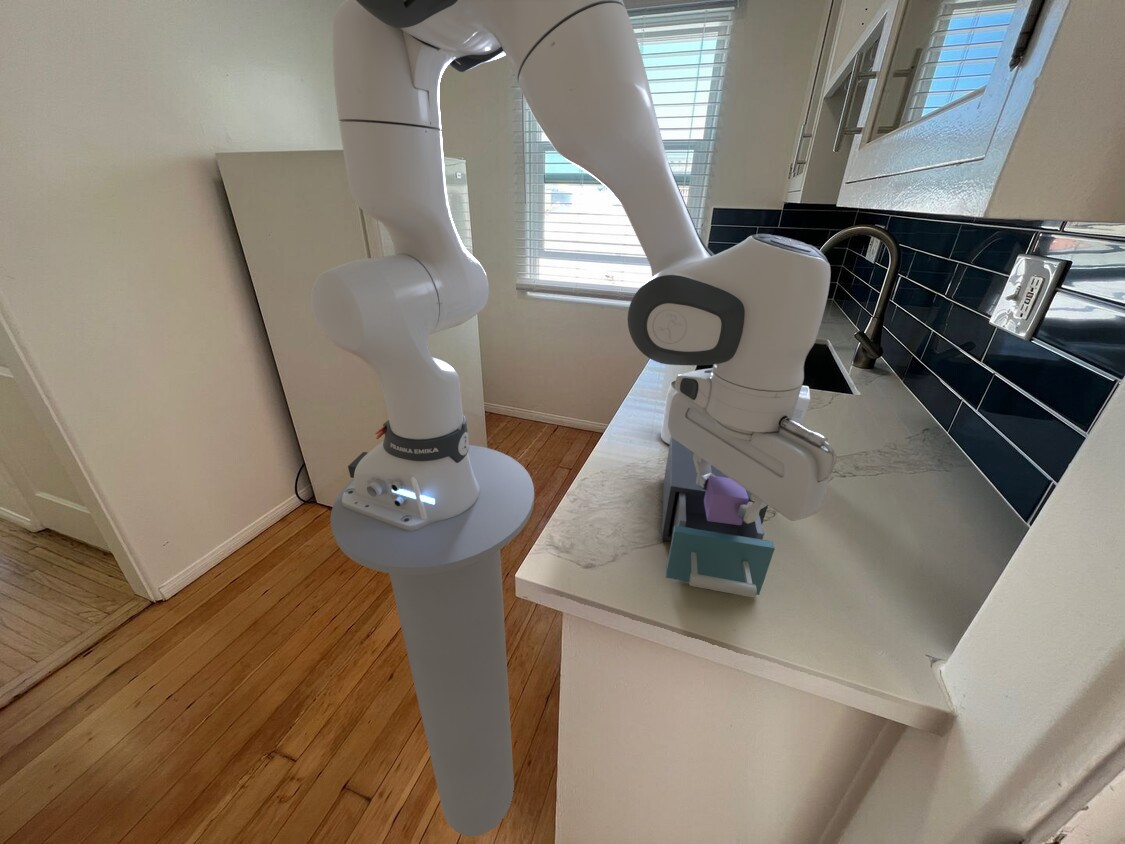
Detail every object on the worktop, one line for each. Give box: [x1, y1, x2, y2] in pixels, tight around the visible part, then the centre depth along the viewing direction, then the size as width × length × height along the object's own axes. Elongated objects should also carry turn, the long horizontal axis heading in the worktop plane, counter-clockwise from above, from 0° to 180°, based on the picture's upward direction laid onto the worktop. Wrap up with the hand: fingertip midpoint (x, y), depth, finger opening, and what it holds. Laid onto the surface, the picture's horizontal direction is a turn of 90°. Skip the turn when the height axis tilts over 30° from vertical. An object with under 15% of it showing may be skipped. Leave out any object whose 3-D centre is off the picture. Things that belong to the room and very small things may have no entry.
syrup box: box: [792, 384, 811, 425], centre depth 81 cm, size 6×6×14 cm
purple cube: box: [704, 476, 749, 525], centre depth 54 cm, size 4×4×4 cm
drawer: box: [665, 492, 776, 598], centre depth 58 cm, size 18×11×8 cm, turn 167°
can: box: [660, 380, 678, 446], centre depth 87 cm, size 6×6×12 cm
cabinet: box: [661, 437, 769, 542], centre depth 67 cm, size 15×13×10 cm
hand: (724, 501), depth 54 cm, fingers closed on purple cube, 6 cm apart
